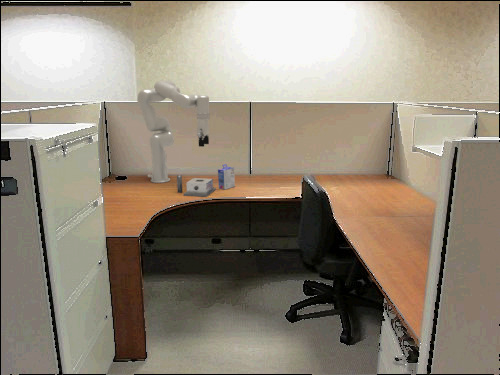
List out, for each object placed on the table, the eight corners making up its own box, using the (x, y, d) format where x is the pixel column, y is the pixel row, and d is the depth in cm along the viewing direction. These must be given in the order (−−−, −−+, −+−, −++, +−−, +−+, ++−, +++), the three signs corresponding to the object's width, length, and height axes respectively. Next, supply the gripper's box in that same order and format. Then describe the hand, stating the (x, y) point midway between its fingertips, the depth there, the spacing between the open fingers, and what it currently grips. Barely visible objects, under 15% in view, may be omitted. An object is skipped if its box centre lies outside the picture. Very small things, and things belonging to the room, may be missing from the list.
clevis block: (183, 195, 254) (182, 183, 252) (194, 188, 271) (193, 176, 269) (206, 197, 251) (206, 184, 249) (216, 189, 268) (215, 178, 266)
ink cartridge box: (228, 185, 278) (228, 163, 274) (235, 186, 274) (235, 164, 271) (217, 188, 270) (217, 165, 267) (224, 189, 267) (224, 166, 264)
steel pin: (176, 192, 261) (175, 176, 258) (178, 191, 264) (177, 175, 261) (181, 192, 260) (180, 176, 258) (183, 191, 263) (182, 175, 260)
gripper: (201, 115, 270) (202, 143, 274) (192, 117, 254) (193, 147, 258) (213, 115, 269) (213, 143, 273) (205, 118, 252) (205, 147, 256)
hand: (203, 145), depth 265 cm, fingers open, 9 cm apart
